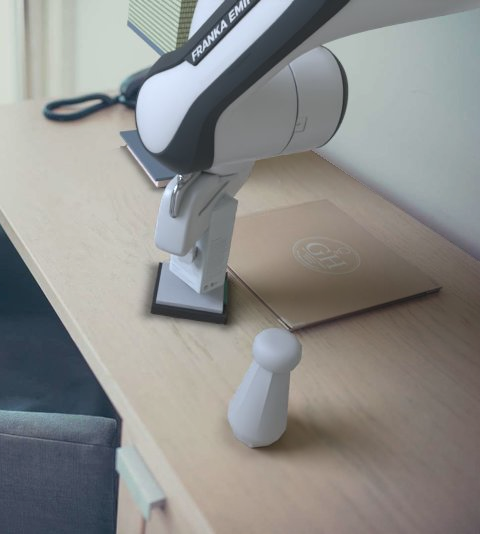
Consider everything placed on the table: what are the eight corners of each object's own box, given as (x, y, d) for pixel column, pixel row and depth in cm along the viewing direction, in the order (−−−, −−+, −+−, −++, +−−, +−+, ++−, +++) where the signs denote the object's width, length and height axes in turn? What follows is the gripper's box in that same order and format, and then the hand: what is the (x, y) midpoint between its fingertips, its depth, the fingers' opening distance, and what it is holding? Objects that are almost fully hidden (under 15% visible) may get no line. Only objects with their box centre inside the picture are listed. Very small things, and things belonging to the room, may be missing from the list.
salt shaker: (291, 452, 63) (325, 360, 55) (235, 459, 62) (262, 367, 54) (267, 405, 68) (296, 314, 60) (216, 412, 67) (238, 320, 59)
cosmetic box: (225, 284, 78) (243, 199, 71) (197, 297, 76) (213, 211, 69) (191, 258, 82) (205, 176, 75) (164, 270, 80) (176, 186, 73)
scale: (226, 278, 85) (228, 268, 83) (224, 324, 78) (226, 313, 76) (158, 269, 86) (159, 258, 85) (150, 313, 79) (151, 302, 78)
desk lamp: (237, 183, 104) (281, -33, 84) (156, 195, 101) (182, -28, 80) (189, 134, 118) (218, -63, 98) (117, 142, 114) (131, -60, 94)
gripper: (206, 191, 60) (187, 302, 68) (275, 114, 74) (252, 215, 82) (145, 172, 62) (134, 282, 71) (223, 101, 76) (206, 200, 85)
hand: (198, 245), depth 77 cm, fingers closed on cosmetic box, 5 cm apart
